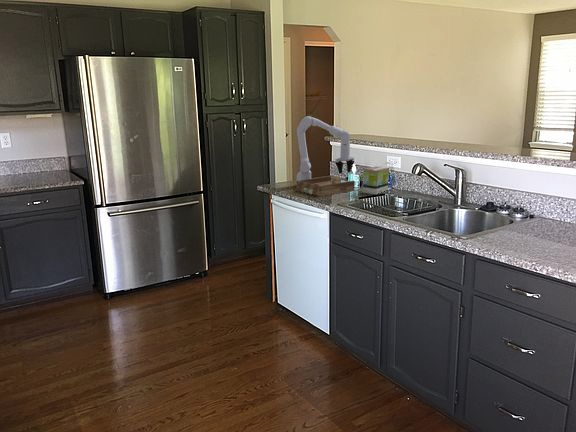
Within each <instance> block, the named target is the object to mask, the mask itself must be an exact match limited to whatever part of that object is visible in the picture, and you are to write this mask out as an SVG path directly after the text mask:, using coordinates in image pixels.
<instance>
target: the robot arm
mask: <svg viewBox="0 0 576 432" xmlns="http://www.w3.org/2000/svg"><path fill="white" fill-rule="evenodd" d="M311 126H312V127H319V128H321V129H324V130H326V131H327V132H329V135H331V136H333V137H335V138H337V139H340V140H341V141H340V151H339V152H340V154H339V155H340V157H338V158H335V161H334V162H335V165H336V167H337V170H338V173H339V174H343V167H344V163H346V171H347V173H351V170H352V168H353V165H354V163H355V157H354V156H351V154H350V153H351V152H350V150H351V149H350V148H351V147H350V146H351V144H350V141H351V140H350V139H351V134H350V133H349V131H347V130H345V129H342V128H340V127H339V126H338V125H329V124H328V123H326V122H323V121H322V120H320V119H318V118H315V117H312V116H310V115H308V116H307V115H306V116H305V117H303V118H302V119H301V120H300V122H299V124H298V126H297V128H296V134H297V143H298V148H299V155H300V156H299V157H300V165H299V172H297V174H296V182H297V181H300V180H307V179H312V171H311V168H312V164H311V162H310V158H309V154H308V147H307V142H306V141H307V140H306V133H305V132H306V131H307V130H308V128H310V127H311ZM295 186H296V187H297V184H295Z"/></svg>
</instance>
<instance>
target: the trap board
mask: <svg viewBox="0 0 576 432" xmlns="http://www.w3.org/2000/svg"><path fill="white" fill-rule="evenodd" d="M355 184H356V182H355V180H349V181H342V182H341V183H336V184H332V175H329V176H327V175H326V176H322V177H321V176H320V177H315V178H311V179H307V180H300V181H297V180H296V185H297V186H296V191H297V192H301V193H304V192H305V194H308V193H309V195H312V194H313V195H312V196H316V195H317V197H320V196H321V197H324V196H325V195H326V196H331V194H332V195H336V194H341V193H348V192H353V191H355Z"/></svg>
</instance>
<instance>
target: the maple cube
mask: <svg viewBox="0 0 576 432" xmlns="http://www.w3.org/2000/svg"><path fill="white" fill-rule="evenodd" d="M331 181H332V184H336V183H342V182H341V181H342V178H341V177H339V176H333V177H332V176H331Z"/></svg>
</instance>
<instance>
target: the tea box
mask: <svg viewBox="0 0 576 432" xmlns="http://www.w3.org/2000/svg"><path fill="white" fill-rule="evenodd" d="M362 178H363V179H362V193H363V194H370V195H378V193H379V194H382V193H385V192H387V191H386V190H389V183H388V180H389V178H390V167H387V166H377V165H376V166H375V165H374V166H371V167H370V166H369V167H367V168H363V177H362ZM389 181H390V180H389ZM384 191H385V192H384ZM381 192H382V193H381Z"/></svg>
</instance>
